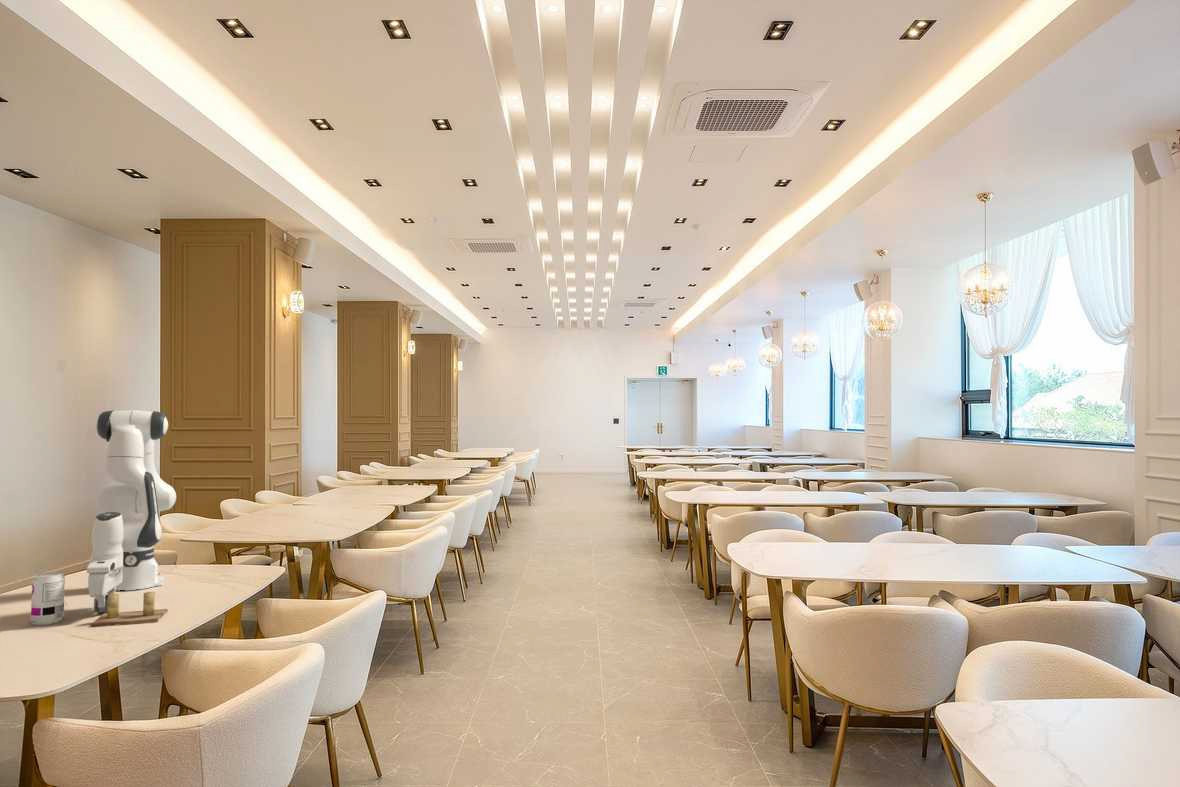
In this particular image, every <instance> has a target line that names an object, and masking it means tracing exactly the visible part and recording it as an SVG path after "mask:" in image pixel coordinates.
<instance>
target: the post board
mask: <svg viewBox="0 0 1180 787" xmlns="http://www.w3.org/2000/svg"><path fill="white" fill-rule="evenodd" d="M107 595H108V594H107ZM119 605H120V594H119V593H115V594H112V595H108V604H107V611H106V612H105V613H103V614H101V616H99V617H98V618H97V619H95V620H94V621H93V622H91V623H90V625H91V626H92V627H91V626H90V627H91V628H94V626H96V627H107V626H106V625H110V626H116V625H115V624H123V625H130V624H129V623H137V624H144V623H143V622H150V623H157V622H156V621H158V620H159V619H160V618H161V617H162V616H163V615H164V614H165V613H166V612H167V613H168V608H163V609H161V608H160V609H155V591H146V592H143V604H142V605H143V608H142V609H143V610H134V611H133V610H132V611H121V612H120V611H119V610H120V609H119V608H120V606H119ZM167 613H166V614H167ZM166 614H165V615H166ZM165 615H164V616H165ZM164 616H163V617H164ZM163 617H162V618H163ZM162 618H161V619H162ZM161 619H160V620H161ZM160 620H159V621H160ZM159 621H158V622H159Z"/></svg>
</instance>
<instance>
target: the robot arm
mask: <svg viewBox="0 0 1180 787" xmlns="http://www.w3.org/2000/svg"><path fill="white" fill-rule="evenodd" d="M95 428H96V432H97V435H98V436H99V437H100V438H101V439H104V440H105V441H106V442H107V443H108V445H107V451H106V458H105V470H106V473H107V475H108V477H110V479H111V480H113V481H114V482H117V483H118V484H119V485H118V484H117V485H116V484H115V485H111V486H106V487H103V488H102V489H101V490H100V491H99V492H98V494H97V495H96V498H95V499H96V500H95V501H96V506H97V509H98V510H99V511H100V512H101V513H99V514H98V515H96V516H95V518H94V520H93V523H92V524H93V525H92V531H91V544H92V551H91V555H90V562H89V564H88V566H87V567H86V574H88V577H87V578H88V579H87V582H88V583H87V584H88V586H87V587H88V595H89V597H90V598H95V597H96V598H97V601H98V607H99V608H103V607H105V606H106V601H105V595H111V594H116V591H120V590H125V591H134V590H135V591H136V590H137V589H138V590H144V589H148V588H153V587H157V586H159V587H160V586H163V585H164V581H165V575H163V574H161V573H160V572H159V564H158V562H157V560H156V559H155V545H156V544H158V543H159V542H160V541H161V539H162V533H163V529H162V524H161V520H160V514H159V512H160V513H161V512H164V511H168V510H171V509H172V508H173V506H174V505H175V504H176V501H177V493H176V491H175V488H173V486H172V485H170V484H168V483H167V482H165V481H164V480H163V479H162V478H161V477H160V475H159V474H158V472H157V468H156V462H155V461H156V460H155V458H156V457H155V452H156V451H155V441H157V440H160V439H162V438H164V437H165V435H166V434H167V431H168V428H169V421H168V418H167V415H166V414H165V413H164V412H160V411H154V410H153V411H148V410H140V409H138V410H137V409H134V410H130V409H129V410H115V411H114V410H113V409H112V410H105V411H103V412H101V413H100V414H99V416H98V418H97V419H96V423H95ZM120 484H121V485H120ZM136 514H142V518H136V517H135V515H136Z"/></svg>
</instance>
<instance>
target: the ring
mask: <svg viewBox="0 0 1180 787" xmlns="http://www.w3.org/2000/svg"><path fill="white" fill-rule="evenodd" d="M111 595H112V594H111ZM105 601H106V606H105V607H103V608H99V607H98V601H97V598H96V597H93V612H95V613H104V612H105V613H107V604H108V594H105Z"/></svg>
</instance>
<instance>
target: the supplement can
mask: <svg viewBox="0 0 1180 787" xmlns="http://www.w3.org/2000/svg"><path fill="white" fill-rule="evenodd" d="M65 578H66V576H65V575H64V574H63V572H61V571H51V572H42V573H38V574H35V575H34V577H33V579H32V580H31V582H32V583H31V605H30V606H31V609H30V610H31V611H30V613H31V615H30V623H32V625H34V626H46V625H52V623H54V624H58V623H60V622H61V621H62V620H63V619H64V611H65V607H64V606H65V582H66V580H65ZM59 621H60V622H59Z"/></svg>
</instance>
